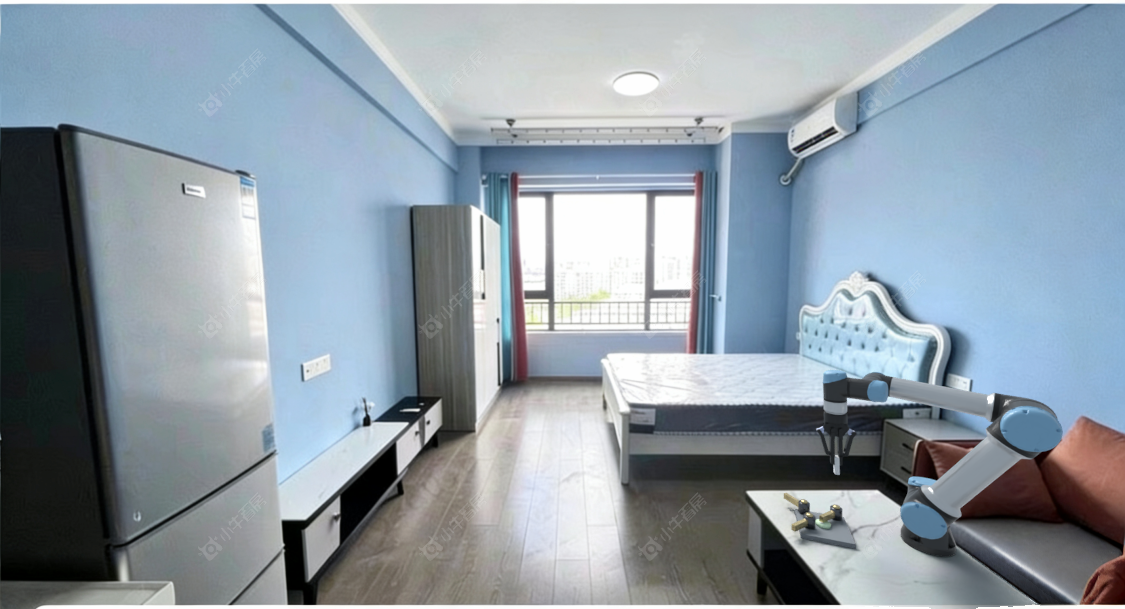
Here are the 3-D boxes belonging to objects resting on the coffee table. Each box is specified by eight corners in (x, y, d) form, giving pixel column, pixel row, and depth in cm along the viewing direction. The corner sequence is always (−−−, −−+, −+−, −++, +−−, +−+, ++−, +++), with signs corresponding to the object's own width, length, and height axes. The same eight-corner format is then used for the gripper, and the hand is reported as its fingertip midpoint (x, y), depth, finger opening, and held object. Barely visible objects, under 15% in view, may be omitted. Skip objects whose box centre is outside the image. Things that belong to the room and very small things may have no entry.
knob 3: (834, 514, 167) (834, 502, 166) (844, 519, 163) (844, 507, 163) (815, 521, 162) (816, 509, 161) (826, 527, 158) (826, 515, 158)
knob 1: (812, 514, 167) (812, 502, 167) (804, 515, 166) (804, 504, 166) (788, 499, 178) (788, 488, 178) (781, 501, 177) (781, 490, 177)
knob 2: (807, 522, 162) (807, 510, 161) (817, 527, 158) (817, 515, 158) (788, 530, 156) (788, 518, 156) (798, 536, 153) (798, 523, 153)
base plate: (843, 521, 165) (844, 514, 165) (855, 548, 148) (855, 540, 148) (794, 512, 171) (794, 505, 171) (800, 537, 155) (800, 530, 155)
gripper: (852, 409, 159) (853, 471, 160) (813, 407, 163) (814, 467, 164) (858, 415, 152) (860, 479, 153) (817, 413, 156) (818, 475, 157)
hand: (836, 473), depth 158 cm, fingers closed
